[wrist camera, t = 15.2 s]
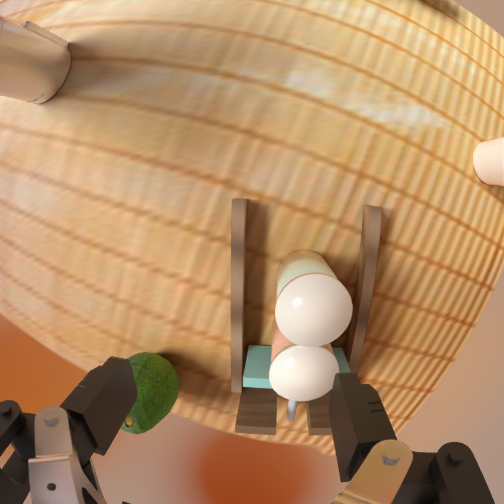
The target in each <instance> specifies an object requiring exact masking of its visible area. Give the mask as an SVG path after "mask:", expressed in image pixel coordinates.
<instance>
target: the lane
mask: <svg viewBox="0 0 504 504" xmlns="http://www.w3.org/2000/svg"><path fill="white" fill-rule="evenodd" d="M381 216H382V208H381V207H377V206H368V205H364V209H363V223H362V236H361V246H360V256H359V265H358V274H357V282H356V289H355V296H354V303H353V310H352V317H351V322H350V328H349V334H348V339H347V345H346V350H345V357H346V360H347V363H348V366H349V368H350V371H351V372H356V373H357V369H358V365H359V361H360V356H361V352H362V347H363V343H364V338H365V333H366V328H367V323H368V318H369V312H370V306H371V300H372V294H373V288H374V281H375V274H376V266H377V258H378V249H379V239H380V229H381ZM246 235H247V199H237V198H235V199H232V230H231V392H234V393H241V398H240V403H239V409H238V414H237V419H236V425H235V432H237V433H249V434H264V435H275V433H276V416H277V392H275V390H274V389H272V388H254V387H243V375H244V327H245V279H246ZM331 392H332V389H331V390H330V391H329V392H327V393H326V394H324V395H323V396H321V397H319V398H316V399H313V400H309V401H306V408H307V418H308V428H309V435H333V434H332V429H331V424H330V419H329V402H330V397H331Z"/></svg>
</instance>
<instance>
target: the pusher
mask: <svg viewBox="0 0 504 504" xmlns="http://www.w3.org/2000/svg"><path fill="white" fill-rule="evenodd" d="M332 350H333V354H334V355H335V357H336V360H337V363H338V366H339V373H346V372H351V371H350V368H349V366H348V363H347V360H346V357H345V355H344V352H343V349H342V348H332ZM271 353H272V346H260V345H249V348H248V354H247V359H246V365H245V370H244V375H243V387H254V388H272V386H271V384H270V380H269V370H270V365H271ZM272 389H273V388H272ZM296 408H297V401H293V400H289V402H288V409H287V416H286V420H287V421H294V419H295V414H296Z"/></svg>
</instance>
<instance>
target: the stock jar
mask: <svg viewBox="0 0 504 504" xmlns="http://www.w3.org/2000/svg"><path fill="white" fill-rule="evenodd" d="M336 373H339V366H338V363H337V360H336V357H335V355H334V354H333V350H332V347H331V344H330V343H328V344H325V345H322V346H317V347H305V346H301V345H297V344H295V343H293V342H291V341H290V340H288V339H287V338H286V337H285V336H284V335H283V334H282V333H281V331H280V330H279V328H278V325H277V322H276V317H275V316H274V319H273V329H272V353H271V365H270V370H269V380H270V384H271V386H272V388H273V389H274V390H275V392H277V393H278V394H279V395H280V396H282V397H284V398H286V399H289V400H293V401H309V400H313V399H316V398H319V397H321V396H323V395H324V394H326V393H327V392H329V391H330V390H331V389H332V387H333V382H334V377H335V374H336Z"/></svg>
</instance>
